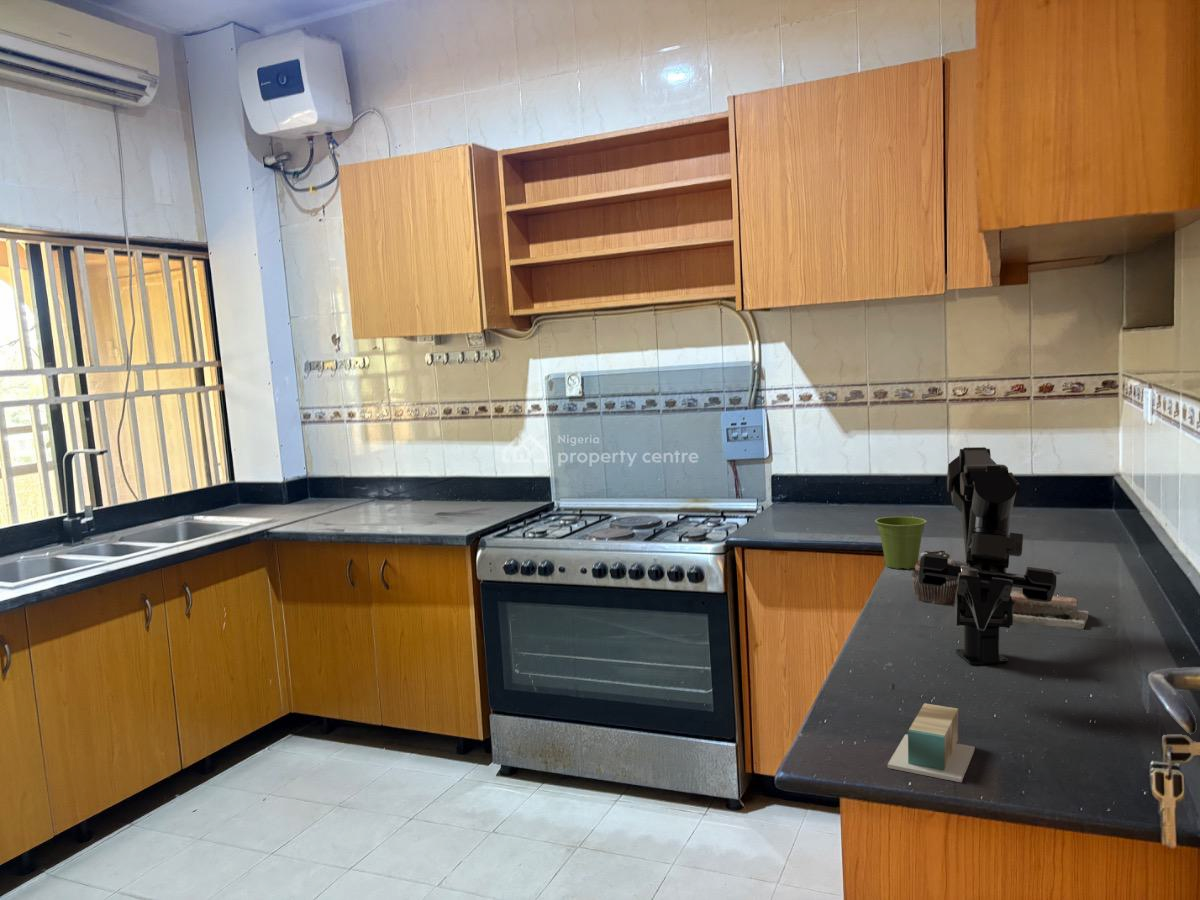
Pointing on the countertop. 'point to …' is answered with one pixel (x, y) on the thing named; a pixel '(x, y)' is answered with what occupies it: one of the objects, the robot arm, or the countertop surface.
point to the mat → (951, 772)
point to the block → (933, 736)
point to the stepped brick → (1048, 611)
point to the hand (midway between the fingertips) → (981, 629)
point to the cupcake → (932, 592)
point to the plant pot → (901, 540)
